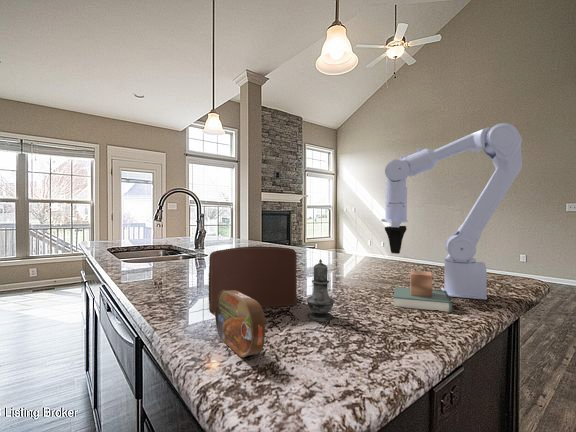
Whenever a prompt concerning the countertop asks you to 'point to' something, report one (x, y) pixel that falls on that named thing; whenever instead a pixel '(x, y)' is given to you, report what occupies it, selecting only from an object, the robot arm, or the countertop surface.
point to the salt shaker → (320, 295)
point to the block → (421, 284)
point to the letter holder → (255, 275)
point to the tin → (240, 322)
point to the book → (422, 300)
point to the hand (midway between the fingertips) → (395, 251)
